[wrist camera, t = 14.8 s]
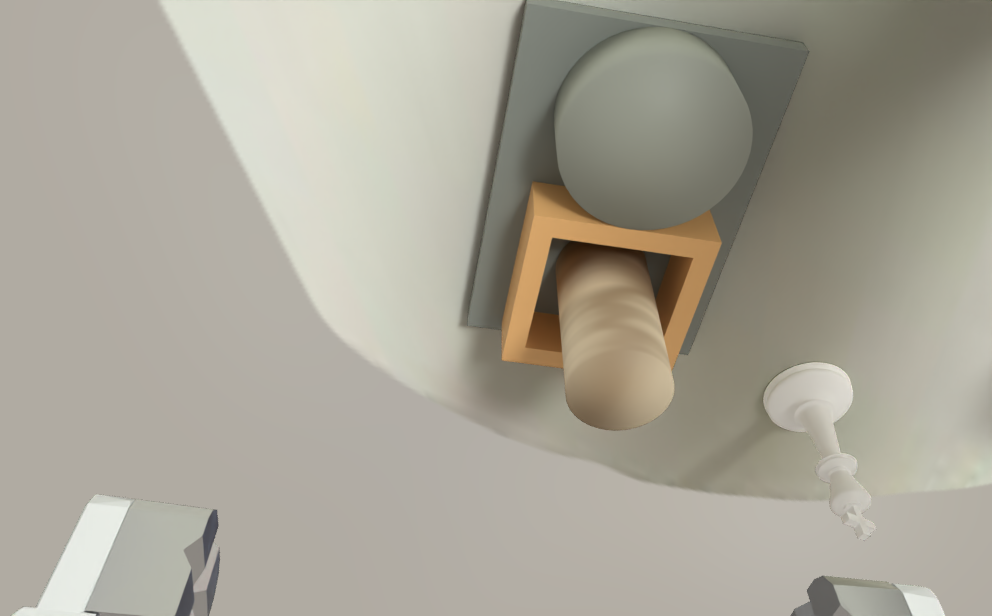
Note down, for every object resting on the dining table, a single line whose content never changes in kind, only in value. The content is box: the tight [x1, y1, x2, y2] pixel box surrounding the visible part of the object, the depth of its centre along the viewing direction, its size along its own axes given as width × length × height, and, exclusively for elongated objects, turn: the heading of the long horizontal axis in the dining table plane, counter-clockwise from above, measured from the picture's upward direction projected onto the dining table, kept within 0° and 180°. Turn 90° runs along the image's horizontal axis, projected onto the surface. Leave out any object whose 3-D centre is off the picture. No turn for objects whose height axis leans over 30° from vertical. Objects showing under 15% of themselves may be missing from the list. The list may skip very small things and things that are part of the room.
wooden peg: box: [556, 240, 675, 430], centre depth 39 cm, size 4×4×9 cm
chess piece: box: [763, 362, 876, 541], centre depth 45 cm, size 5×5×10 cm
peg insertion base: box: [467, 0, 809, 371], centre depth 40 cm, size 12×17×4 cm
